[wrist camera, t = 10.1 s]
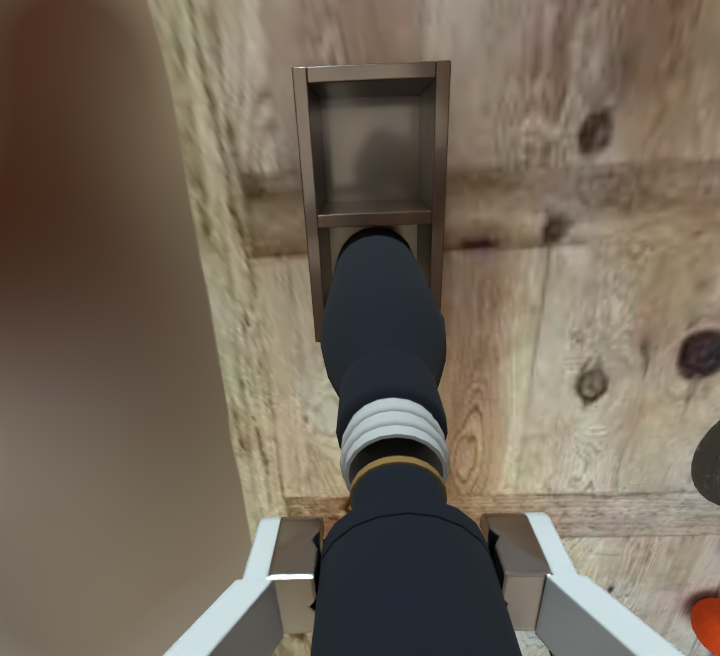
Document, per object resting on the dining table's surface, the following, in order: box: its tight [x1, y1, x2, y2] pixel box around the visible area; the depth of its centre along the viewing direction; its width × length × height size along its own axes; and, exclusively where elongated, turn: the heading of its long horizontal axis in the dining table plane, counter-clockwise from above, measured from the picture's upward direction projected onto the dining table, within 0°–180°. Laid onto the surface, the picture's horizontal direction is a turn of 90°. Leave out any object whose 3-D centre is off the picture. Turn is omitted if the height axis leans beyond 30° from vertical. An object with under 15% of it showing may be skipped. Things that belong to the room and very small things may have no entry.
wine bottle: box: [310, 227, 522, 656], centre depth 20 cm, size 6×6×30 cm
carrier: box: [292, 60, 451, 342], centre depth 33 cm, size 10×19×9 cm, turn 2°
